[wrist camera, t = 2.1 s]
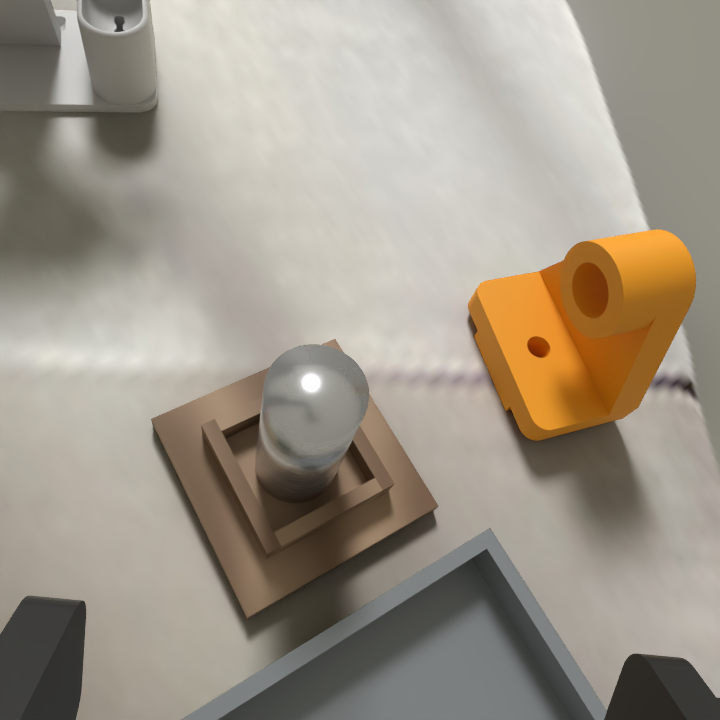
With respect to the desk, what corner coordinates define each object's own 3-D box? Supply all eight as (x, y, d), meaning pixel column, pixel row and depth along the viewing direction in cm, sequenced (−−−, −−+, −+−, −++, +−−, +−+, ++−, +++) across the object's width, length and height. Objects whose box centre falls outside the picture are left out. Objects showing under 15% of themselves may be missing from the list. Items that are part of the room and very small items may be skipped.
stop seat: (246, 619, 34) (248, 614, 32) (152, 425, 38) (148, 408, 36) (433, 510, 38) (445, 499, 36) (332, 346, 42) (338, 327, 40)
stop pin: (278, 517, 36) (295, 460, 27) (240, 446, 37) (244, 369, 28) (350, 479, 37) (388, 413, 29) (312, 412, 39) (336, 329, 30)
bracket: (459, 304, 46) (529, 186, 35) (549, 287, 48) (640, 172, 37) (520, 448, 41) (620, 364, 31) (615, 423, 43) (739, 336, 33)
